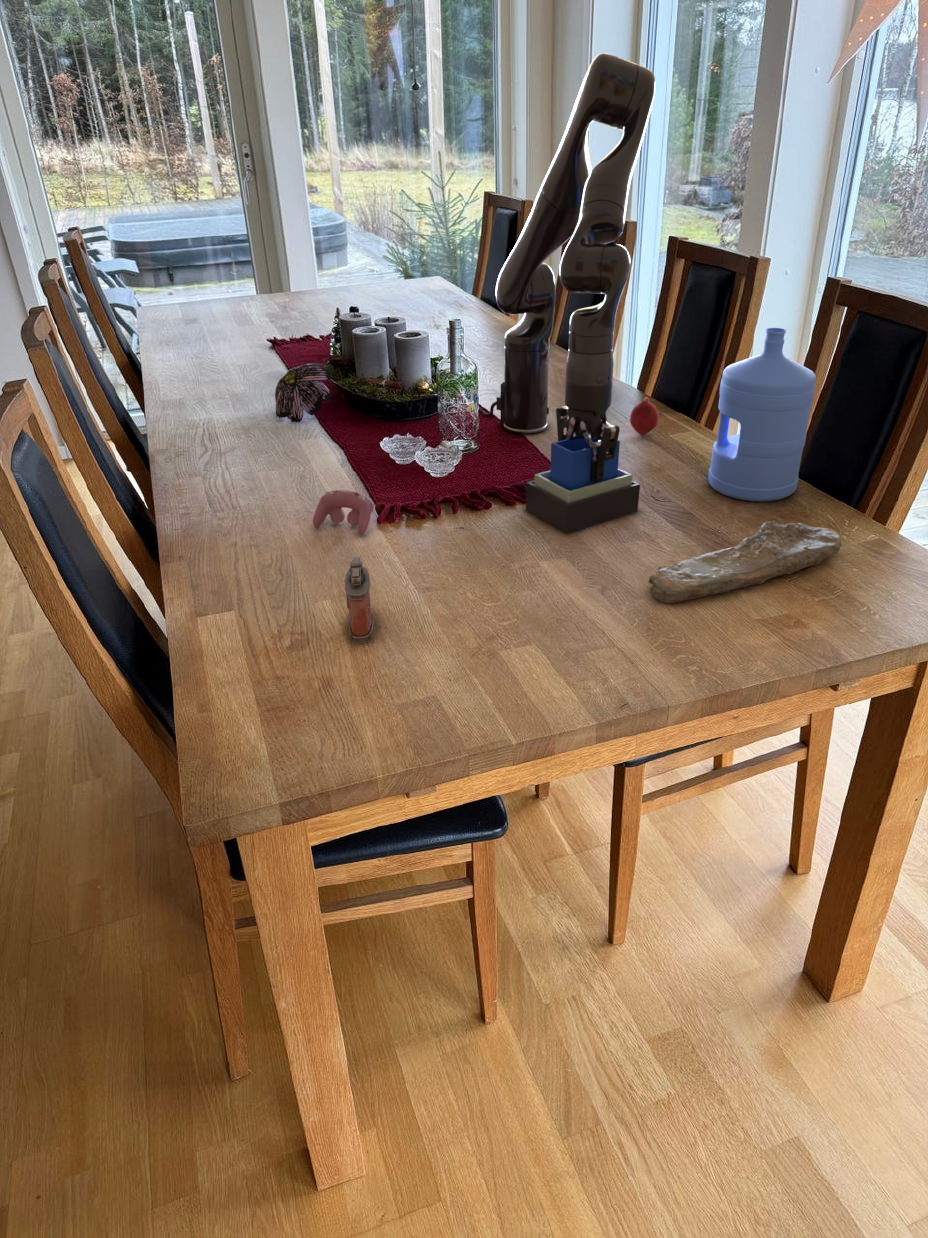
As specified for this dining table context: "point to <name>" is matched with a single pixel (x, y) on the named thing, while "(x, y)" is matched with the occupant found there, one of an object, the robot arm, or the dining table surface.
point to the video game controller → (348, 499)
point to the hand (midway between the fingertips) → (583, 474)
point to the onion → (644, 417)
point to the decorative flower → (301, 391)
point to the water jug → (762, 424)
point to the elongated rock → (746, 562)
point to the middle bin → (585, 492)
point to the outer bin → (581, 507)
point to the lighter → (359, 602)
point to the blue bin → (577, 464)
